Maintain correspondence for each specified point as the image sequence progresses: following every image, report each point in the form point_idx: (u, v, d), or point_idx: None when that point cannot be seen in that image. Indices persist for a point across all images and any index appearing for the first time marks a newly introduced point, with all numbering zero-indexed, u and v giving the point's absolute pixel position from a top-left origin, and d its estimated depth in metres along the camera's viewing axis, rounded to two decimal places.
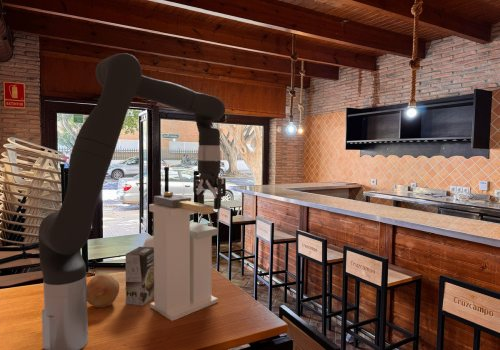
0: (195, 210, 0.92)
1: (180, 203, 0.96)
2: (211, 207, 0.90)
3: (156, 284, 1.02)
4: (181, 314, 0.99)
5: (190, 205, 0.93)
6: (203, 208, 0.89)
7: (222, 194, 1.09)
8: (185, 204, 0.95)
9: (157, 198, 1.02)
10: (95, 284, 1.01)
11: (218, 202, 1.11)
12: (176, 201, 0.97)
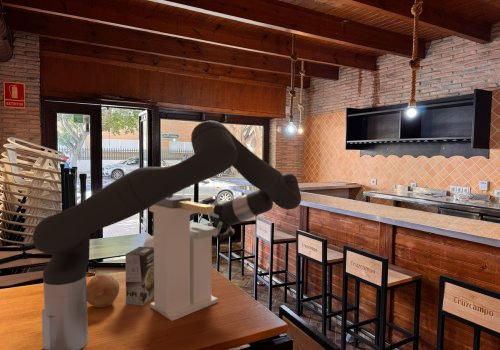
0: (195, 210, 0.92)
1: (180, 203, 0.96)
2: (211, 207, 0.90)
3: (156, 284, 1.02)
4: (181, 314, 0.99)
5: (190, 205, 0.93)
6: (203, 208, 0.89)
7: None
8: (185, 204, 0.95)
9: None
10: (95, 284, 1.01)
11: None
12: (176, 201, 0.97)
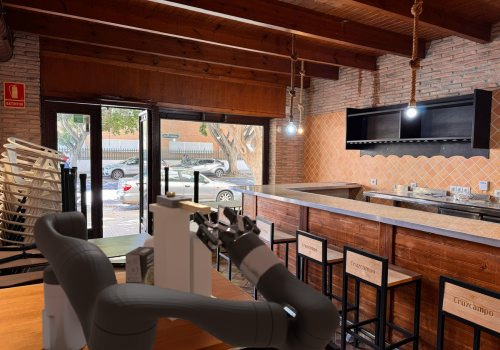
0: (192, 210, 0.91)
1: (180, 203, 0.96)
2: (208, 208, 0.89)
3: (156, 284, 1.02)
4: None
5: (188, 205, 0.93)
6: (199, 208, 0.88)
7: None
8: (184, 204, 0.95)
9: (159, 198, 1.02)
10: None
11: None
12: (176, 201, 0.97)
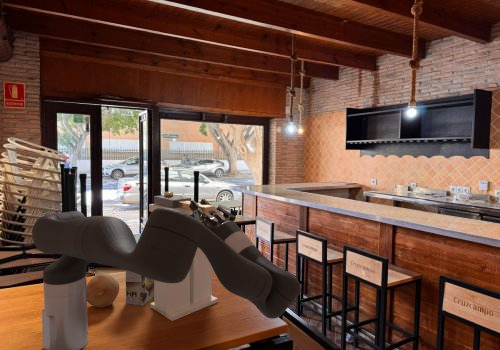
0: None
1: (180, 203, 0.96)
2: (211, 207, 0.90)
3: (156, 284, 1.02)
4: (181, 314, 0.99)
5: None
6: (203, 208, 0.89)
7: None
8: (185, 204, 0.95)
9: (157, 198, 1.02)
10: (95, 284, 1.01)
11: None
12: (176, 201, 0.97)
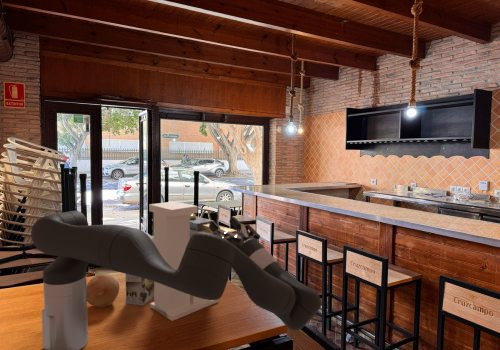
0: None
1: (204, 226, 1.03)
2: (235, 231, 0.97)
3: (156, 284, 1.02)
4: (181, 314, 0.99)
5: None
6: None
7: None
8: (209, 228, 1.01)
9: None
10: (95, 284, 1.01)
11: None
12: (200, 224, 1.04)
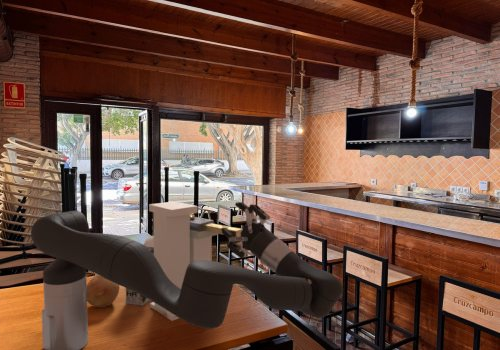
0: None
1: (207, 226, 1.03)
2: (240, 230, 0.99)
3: None
4: None
5: (219, 228, 1.00)
6: (234, 232, 0.97)
7: (255, 205, 0.93)
8: (213, 227, 1.02)
9: None
10: (95, 284, 1.01)
11: (245, 205, 0.95)
12: (202, 224, 1.04)
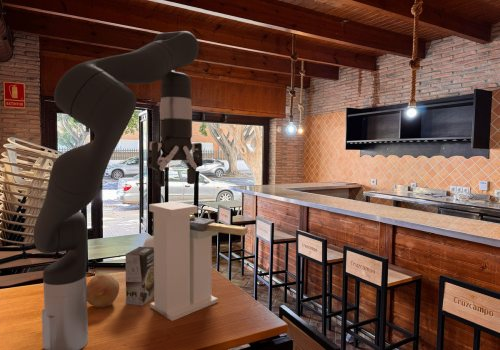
0: (230, 232, 1.01)
1: (210, 226, 1.04)
2: (246, 228, 1.01)
3: (156, 284, 1.02)
4: (181, 314, 0.99)
5: (224, 227, 1.02)
6: (241, 230, 0.99)
7: (149, 164, 0.78)
8: (217, 227, 1.03)
9: None
10: (95, 284, 1.01)
11: (156, 176, 0.80)
12: (206, 224, 1.04)
